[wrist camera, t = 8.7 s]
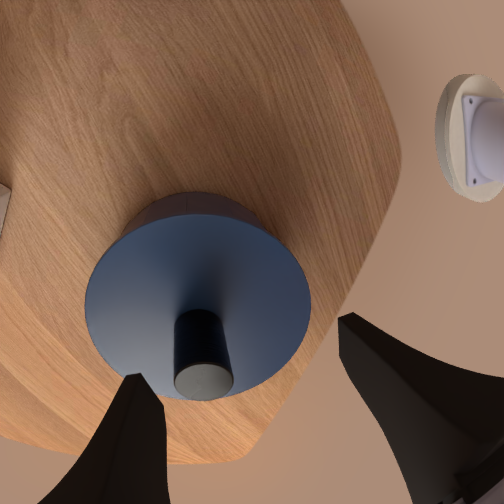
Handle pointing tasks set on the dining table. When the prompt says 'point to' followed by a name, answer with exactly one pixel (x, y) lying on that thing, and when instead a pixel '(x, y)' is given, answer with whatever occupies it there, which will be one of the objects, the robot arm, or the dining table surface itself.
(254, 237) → the tin lid
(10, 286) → the dining table surface
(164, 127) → the dining table surface
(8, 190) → the cosmetics box
